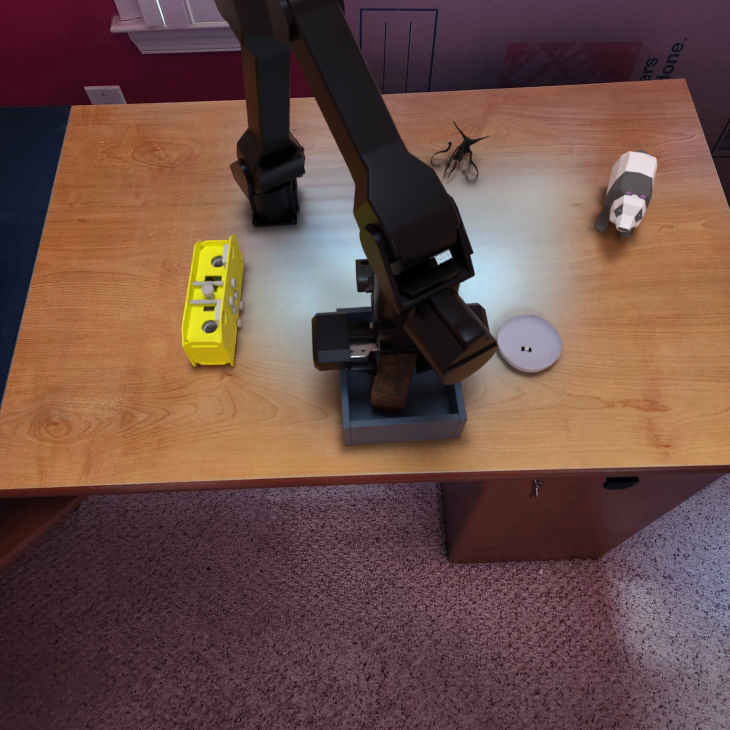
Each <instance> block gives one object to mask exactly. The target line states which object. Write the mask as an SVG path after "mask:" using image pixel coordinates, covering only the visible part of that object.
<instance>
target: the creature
mask: <svg viewBox="0 0 730 730" xmlns="http://www.w3.org/2000/svg"><path fill="white" fill-rule="evenodd" d="M452 122H453V124H454V126H455V128H456V130H457V131H458V132H459V133H460V135H461V137H462V139H463V140H462V142H460V144H459V145H458V146H457V145H456V148H455V149H454V150H453V153H452V155H451V156H448V157H447V159H449V158H450V159H449V160H448V161H447V162H446V163H445V165H446V166H445V168H444V172H443V176H442V178H445V176H446V173H447V170H448V169H449V168H450V167H451V164H452V163H451V162H452V161H454V163H453V165H452V166H453V167H452V169H451V170H450V171H449V174H448V176H447V178H446V180H449V178H450V177H451V174H452V173H453V172H454V171H456V169H457V163H461V162H462V161H463V159H464V156H465V155H467V154H469V158H468V159H469V165H468V168H467V170H469V169H470V168H471V165H472V166H473V167H474V168H475V170H476V173H477V174H476V176H475V178H473V180H469V177H468V175H467V173H466V169H465V170H464V169H461V172H463V173H464V174H465V177H466V180H467V181H468V182H470V183H471V182H474V181H476V180H477V179H478V177H479V173H480V172H479V169H478V166H477V164H475V163H474V161H473V150H471V146H472V145H475V144H477V143H478V142H479V141H482V140H484V139H487V138H489V137H490V135H487V136H483V137H479V138H470V136H467V135H466V134H465V133H464V132H463V131H462V129H460V128H459V127H458V125H457V123H456V122H455V120H453V121H452ZM452 143H453V142H452V141H449V142H448V143H447V145H448V146H447V148H446V149H443V150H439V151H436V152H435V153H434V154H433V155H432V156H431V158H430V163H431V165H432V166H434V167H437V166H441V165H442V163H438V164H434V163H433V158H434V156H435V155H438V154H443V153H448V152H449V151H450V150H451V148H452V145H453V144H452Z"/></svg>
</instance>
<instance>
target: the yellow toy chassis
mask: <svg viewBox="0 0 730 730" xmlns="http://www.w3.org/2000/svg"><path fill="white" fill-rule="evenodd" d="M228 239H229V240H228ZM228 239H216V240H215V239H211V240H209V239H208V240H207V239H206V240H205V241H202V240H201V239H199V240H198V241H197V242H196V243H194V245H193V253H192V258H191V266H190V272H189V277H188V283H187V290H186V296H185V303H184V308H183V316H182V320H181V327H180V328H181V344H182V349H183V351H184V353H185V354H186V356H187V358H188V359H189V361H190V363H191V364H192V367H195V368H196V366H197V364H200V365H201V366H213V365H214V366H216V365H218V366H220V365H221V366H222V365H226V364H230V367H234V364H235V363H234V362H235V353H236V344H237V337H238V335H237V334H238V328H243V319H242V317H241V318H240V317H239V315H240V311H244V310H245V303H244V300H241V296H242V287H243V278H244V269H245V261H244V258H243V255H242V252H241V248H240V245H239V243H238V238H237V236H236V233H233V234H232V235H230V236H229V238H228Z"/></svg>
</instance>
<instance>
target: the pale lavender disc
mask: <svg viewBox="0 0 730 730" xmlns="http://www.w3.org/2000/svg"><path fill="white" fill-rule="evenodd" d="M496 340H497V344H498V349H497V350H498V352H499V354H500V355H501V356H502V358H503V359H504V360H505V361H506V363H508V364H509V365H510V366H511V367H513V368H514V369H516V370H519V371H521V372H525V373H539V372H541V371H543V370H546V369H547V368H549V367H551V366H552V365H553V364H554V363H556V361H557V360H558V359H559V358H560V356H561V354H562V351H563V340H562V337H561V335H560V333H559V332H558V330H557V329H556V327H554V325H552V324H551V323H550V322H549V321H548V320H546V319H545V318H542V317H540V316H538V315H535V314H528V313H527V314H526V313H525V314H519V315H516V316H513V317H511V318H510V319H508V320H506V321H505V322H504V323H503V324H502V326H501V327H500V328H499V330H498V332H497V336H496Z"/></svg>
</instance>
